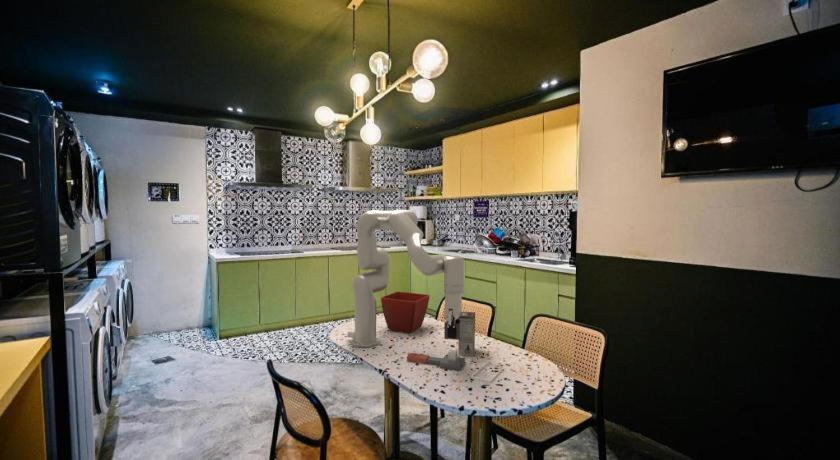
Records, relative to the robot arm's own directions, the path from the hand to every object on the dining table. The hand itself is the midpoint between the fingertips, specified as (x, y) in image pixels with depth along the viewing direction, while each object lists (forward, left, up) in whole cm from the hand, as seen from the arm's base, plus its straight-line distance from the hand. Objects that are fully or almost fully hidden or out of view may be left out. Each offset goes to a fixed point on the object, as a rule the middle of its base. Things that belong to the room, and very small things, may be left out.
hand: (453, 335), depth 150 cm
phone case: (+14, -3, -13) cm, 19 cm away
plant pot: (-34, +39, -12) cm, 53 cm away
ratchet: (-8, 0, -12) cm, 15 cm away
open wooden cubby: (0, 0, -1) cm, 1 cm away
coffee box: (+2, +17, -12) cm, 21 cm away
